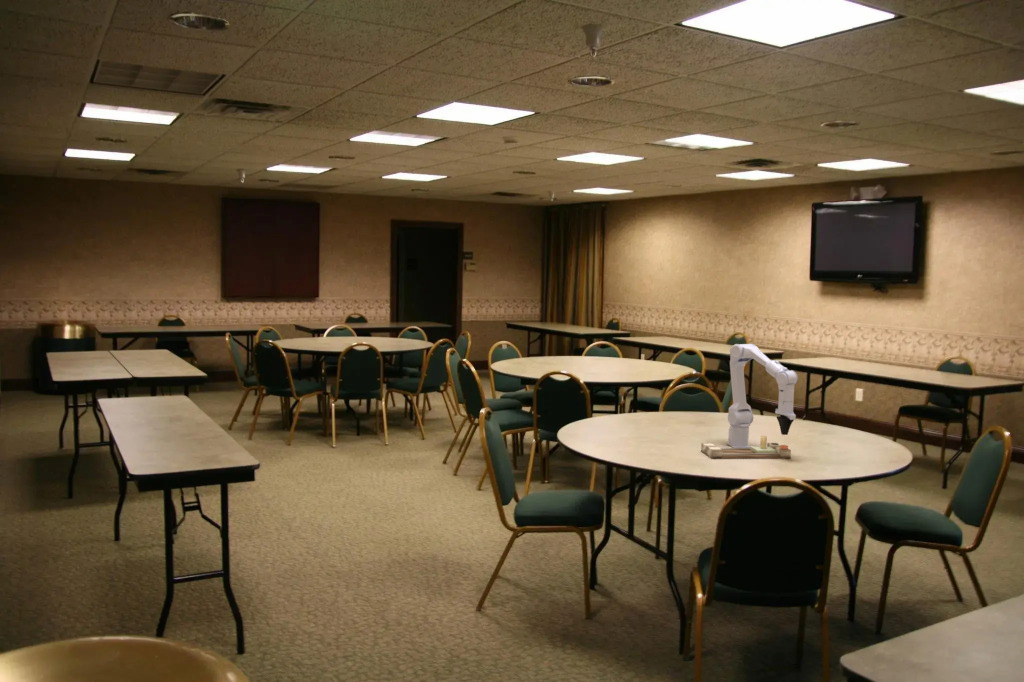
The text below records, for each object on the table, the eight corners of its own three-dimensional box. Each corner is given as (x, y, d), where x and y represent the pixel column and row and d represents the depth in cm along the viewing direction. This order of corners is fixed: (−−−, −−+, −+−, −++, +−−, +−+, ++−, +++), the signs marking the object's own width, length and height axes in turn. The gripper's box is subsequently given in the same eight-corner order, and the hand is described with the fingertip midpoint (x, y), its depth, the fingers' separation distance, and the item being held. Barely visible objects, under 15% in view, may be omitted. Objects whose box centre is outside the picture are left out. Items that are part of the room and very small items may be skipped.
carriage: (750, 450, 326) (751, 434, 325) (769, 450, 326) (769, 434, 326) (756, 453, 319) (757, 438, 318) (776, 453, 319) (776, 438, 319)
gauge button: (778, 447, 319) (778, 445, 319) (786, 447, 319) (786, 445, 319) (782, 449, 316) (782, 446, 316) (789, 449, 316) (789, 446, 316)
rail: (701, 451, 328) (701, 442, 327) (776, 451, 330) (776, 442, 330) (712, 458, 314) (712, 449, 313) (790, 458, 316) (791, 449, 316)
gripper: (768, 398, 323) (767, 430, 324) (784, 403, 309) (782, 438, 310) (785, 398, 324) (784, 430, 325) (801, 403, 309) (799, 438, 310)
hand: (784, 434), depth 317 cm, fingers closed
